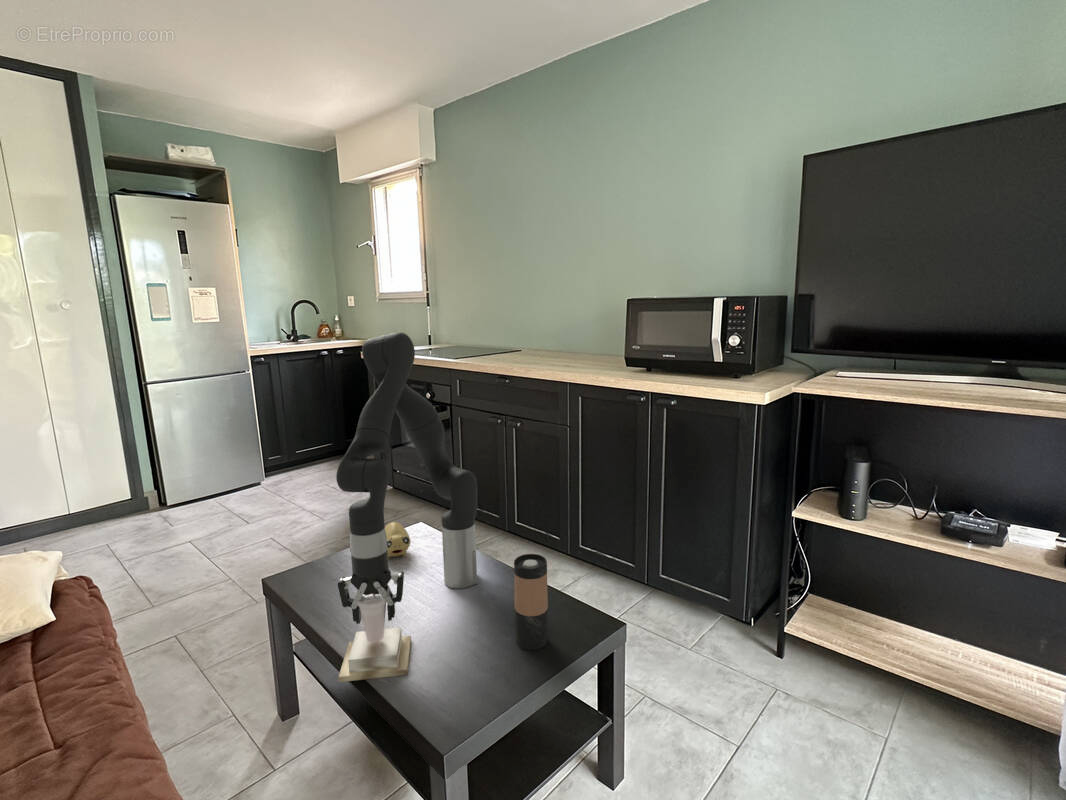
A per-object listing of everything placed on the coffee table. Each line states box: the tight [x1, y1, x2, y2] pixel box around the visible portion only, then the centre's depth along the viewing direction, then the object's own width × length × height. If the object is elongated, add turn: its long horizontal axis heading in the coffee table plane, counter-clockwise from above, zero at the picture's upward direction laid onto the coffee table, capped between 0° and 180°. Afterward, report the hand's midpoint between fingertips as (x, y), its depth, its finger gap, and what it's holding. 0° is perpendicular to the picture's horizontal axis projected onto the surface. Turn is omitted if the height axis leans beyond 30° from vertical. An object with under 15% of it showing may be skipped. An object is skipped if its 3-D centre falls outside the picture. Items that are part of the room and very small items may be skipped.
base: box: [338, 627, 412, 683], centre depth 119 cm, size 14×12×4 cm
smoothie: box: [358, 593, 387, 642], centre depth 117 cm, size 6×6×14 cm
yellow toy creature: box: [385, 521, 411, 559], centre depth 167 cm, size 10×12×11 cm
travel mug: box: [513, 553, 549, 651], centre depth 123 cm, size 8×8×20 cm
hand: (374, 619), depth 117 cm, fingers closed on smoothie, 6 cm apart
